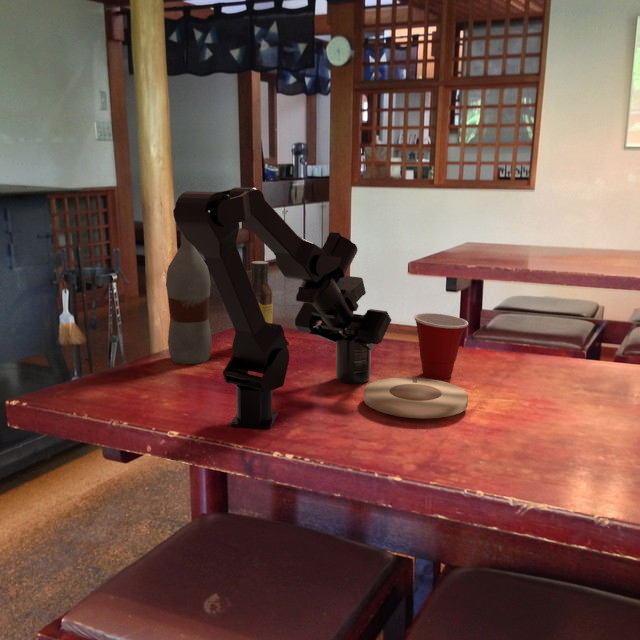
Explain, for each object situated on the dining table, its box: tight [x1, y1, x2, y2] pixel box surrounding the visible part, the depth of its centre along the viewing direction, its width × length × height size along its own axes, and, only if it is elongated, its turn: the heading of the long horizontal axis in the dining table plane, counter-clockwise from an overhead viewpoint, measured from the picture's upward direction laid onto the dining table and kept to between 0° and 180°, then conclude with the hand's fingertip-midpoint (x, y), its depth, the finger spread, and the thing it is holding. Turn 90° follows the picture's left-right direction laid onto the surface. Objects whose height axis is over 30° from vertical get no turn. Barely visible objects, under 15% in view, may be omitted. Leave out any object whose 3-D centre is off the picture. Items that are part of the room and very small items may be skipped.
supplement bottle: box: [335, 326, 372, 385], centre depth 131 cm, size 7×7×12 cm
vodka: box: [165, 231, 213, 365], centre depth 142 cm, size 9×9×30 cm
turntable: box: [363, 376, 469, 419], centre depth 117 cm, size 18×18×2 cm
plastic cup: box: [413, 312, 469, 380], centre depth 135 cm, size 11×11×12 cm
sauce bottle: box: [250, 260, 274, 323], centre depth 156 cm, size 7×6×20 cm
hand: (357, 345), depth 132 cm, fingers closed on supplement bottle, 7 cm apart
